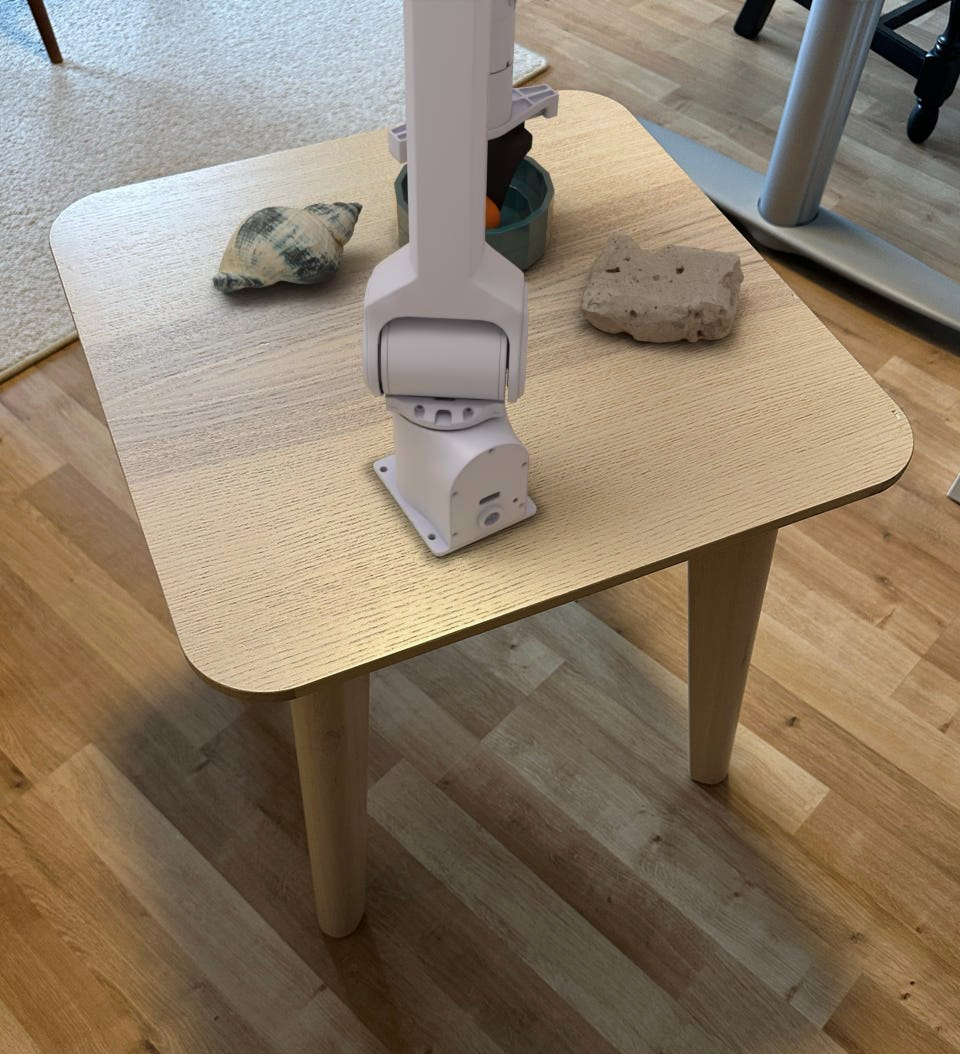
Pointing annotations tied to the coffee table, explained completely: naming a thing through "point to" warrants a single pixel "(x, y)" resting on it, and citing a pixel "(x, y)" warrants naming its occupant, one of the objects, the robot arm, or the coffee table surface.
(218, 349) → the coffee table surface
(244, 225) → the seashell
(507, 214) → the bowl
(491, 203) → the orange capsule pill
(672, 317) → the stone
